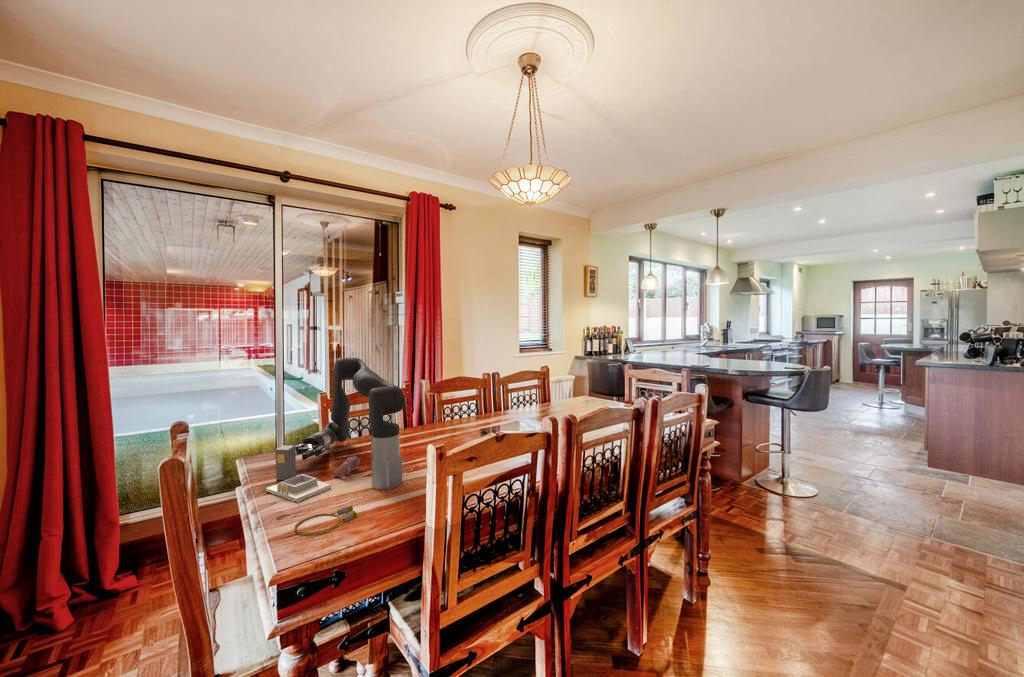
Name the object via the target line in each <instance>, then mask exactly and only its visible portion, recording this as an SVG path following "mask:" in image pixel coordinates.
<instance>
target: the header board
mask: <svg viewBox="0 0 1024 677" xmlns="http://www.w3.org/2000/svg"><path fill="white" fill-rule="evenodd" d="M331 487H332V485H331V484H330V483H327V482H324V481H320V480H318V478H317V477H314V476H310V475H307V474H303V473H301V474H298V475H296V476H295V477H293V478H290V479H287V480H284V481H278V483H276V484H274V485H271V486H268V487H266V488H265V492H266V491H267V492H266V493H268V492H270V493H269V494H271V493H272V495H274V494H275V495H274V496H277V495H278V496H277V497H280V496H282V497H281V498H283V497H285V498H284V499H286V498H288V499H287V500H289V499H290V500H289V501H291V500H293V501H292V502H294V501H296V502H295V503H298V501H299V502H301V501H303V500H302V499H304V500H306V499H308V498H310V496H311V497H313V496H315V495H318V494H320V493H322V491H323V492H325V491H327V490H329V488H330V489H331ZM317 493H318V494H317ZM314 494H315V495H314ZM312 495H313V496H312ZM307 497H308V498H307ZM305 498H306V499H305ZM300 500H301V501H300Z"/></svg>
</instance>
